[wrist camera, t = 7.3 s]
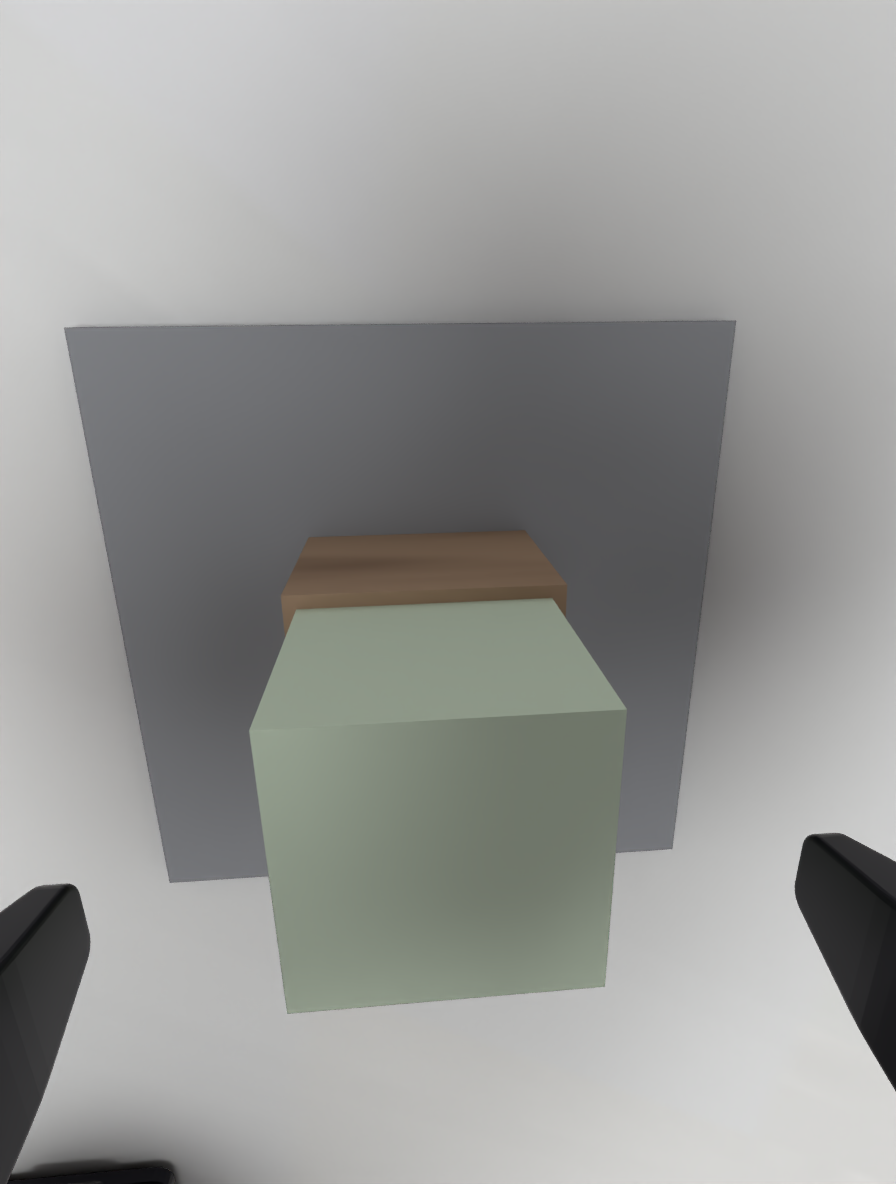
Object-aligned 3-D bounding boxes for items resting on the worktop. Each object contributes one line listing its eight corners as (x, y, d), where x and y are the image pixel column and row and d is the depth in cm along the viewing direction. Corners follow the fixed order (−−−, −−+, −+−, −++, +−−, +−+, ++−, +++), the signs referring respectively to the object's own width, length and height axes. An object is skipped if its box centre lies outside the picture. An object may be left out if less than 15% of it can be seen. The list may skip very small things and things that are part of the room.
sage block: (544, 809, 13) (605, 987, 10) (318, 824, 13) (287, 1013, 9) (552, 598, 12) (627, 709, 8) (296, 609, 11) (248, 730, 8)
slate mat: (666, 839, 19) (672, 849, 19) (174, 872, 18) (169, 882, 18) (727, 321, 15) (735, 320, 14) (73, 328, 14) (63, 327, 13)
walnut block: (519, 718, 17) (555, 819, 13) (324, 728, 17) (305, 834, 13) (524, 530, 16) (567, 584, 12) (308, 537, 15) (281, 596, 11)
